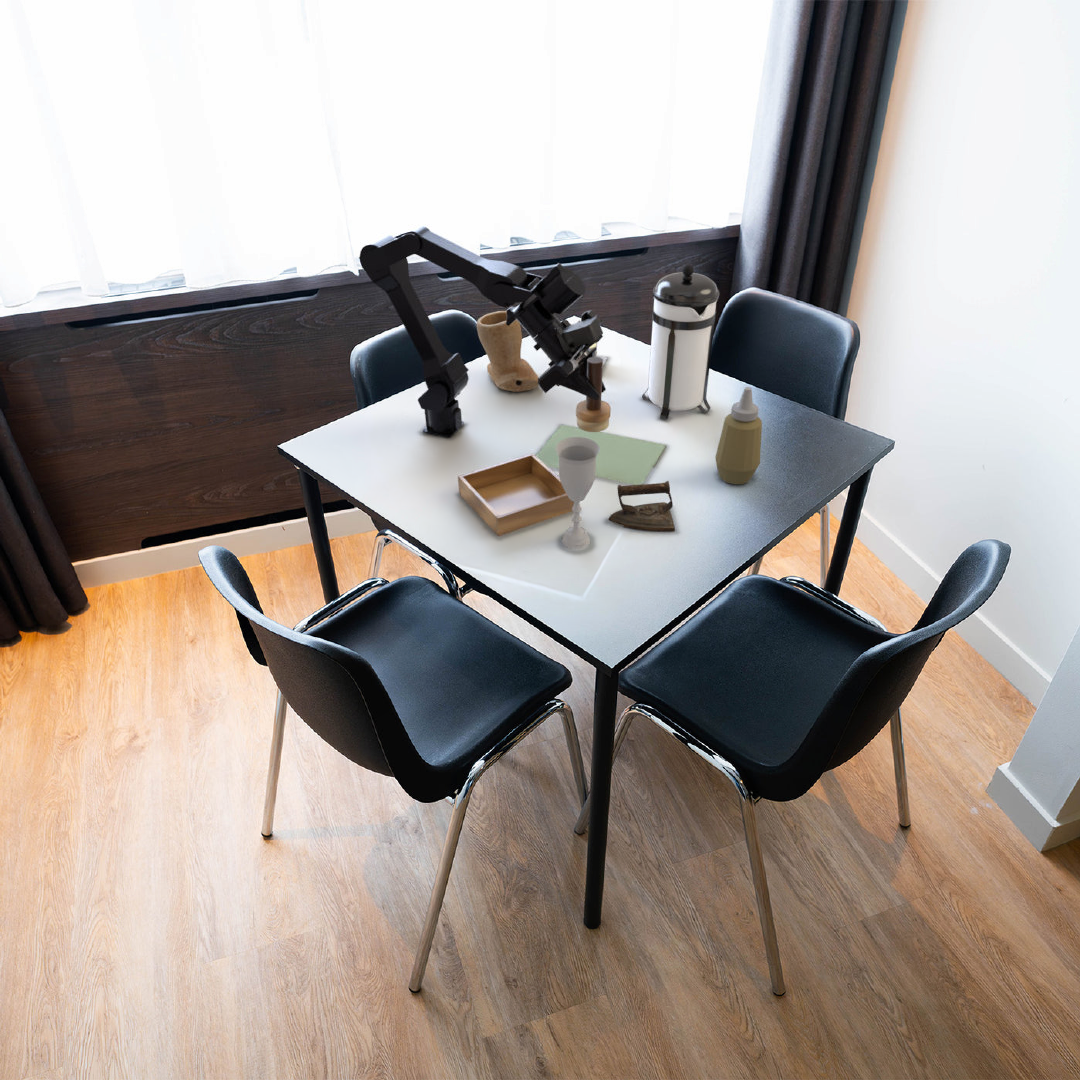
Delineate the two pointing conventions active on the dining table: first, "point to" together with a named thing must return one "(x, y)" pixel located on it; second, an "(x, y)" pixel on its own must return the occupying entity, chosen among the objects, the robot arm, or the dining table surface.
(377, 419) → the dining table surface
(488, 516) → the tray
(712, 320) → the coffee press
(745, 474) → the squeeze bottle
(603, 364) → the stacked layers on plate
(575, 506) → the chalice
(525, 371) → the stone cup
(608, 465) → the mat
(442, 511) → the dining table surface
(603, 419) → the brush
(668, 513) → the clothes iron
